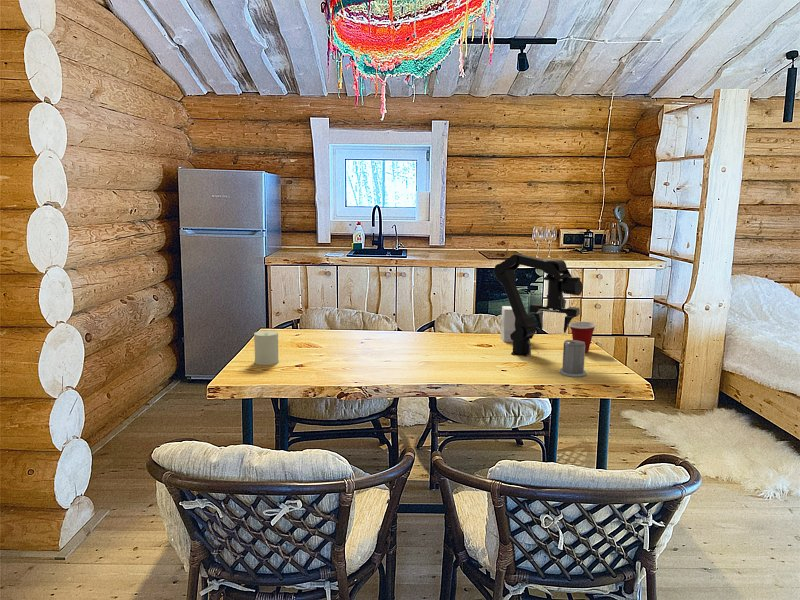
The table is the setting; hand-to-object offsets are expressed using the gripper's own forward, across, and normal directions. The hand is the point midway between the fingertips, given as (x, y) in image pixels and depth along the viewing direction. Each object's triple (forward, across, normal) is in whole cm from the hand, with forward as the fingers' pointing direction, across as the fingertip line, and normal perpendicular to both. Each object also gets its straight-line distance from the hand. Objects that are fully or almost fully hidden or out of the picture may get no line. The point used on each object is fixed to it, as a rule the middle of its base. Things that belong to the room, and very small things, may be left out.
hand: (553, 331), depth 251 cm
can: (+12, +93, +62) cm, 112 cm away
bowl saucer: (+12, -12, +13) cm, 21 cm away
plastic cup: (+12, -6, -22) cm, 26 cm away
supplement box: (+12, +26, -26) cm, 39 cm away
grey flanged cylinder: (+11, -12, +13) cm, 21 cm away
